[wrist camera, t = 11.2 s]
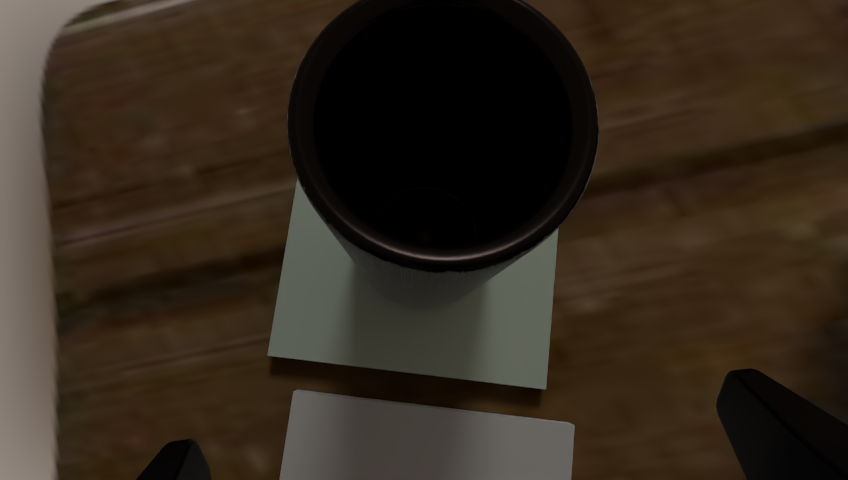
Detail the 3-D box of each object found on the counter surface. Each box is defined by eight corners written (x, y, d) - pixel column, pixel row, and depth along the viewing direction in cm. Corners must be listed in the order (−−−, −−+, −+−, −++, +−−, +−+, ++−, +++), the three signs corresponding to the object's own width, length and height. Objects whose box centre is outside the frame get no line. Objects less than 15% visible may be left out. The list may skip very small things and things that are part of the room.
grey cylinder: (510, 204, 18) (642, 36, 8) (463, 330, 17) (542, 324, 7) (386, 156, 18) (358, -69, 8) (334, 279, 17) (230, 201, 7)
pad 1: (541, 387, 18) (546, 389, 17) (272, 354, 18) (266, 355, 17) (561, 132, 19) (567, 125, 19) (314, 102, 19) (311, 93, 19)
